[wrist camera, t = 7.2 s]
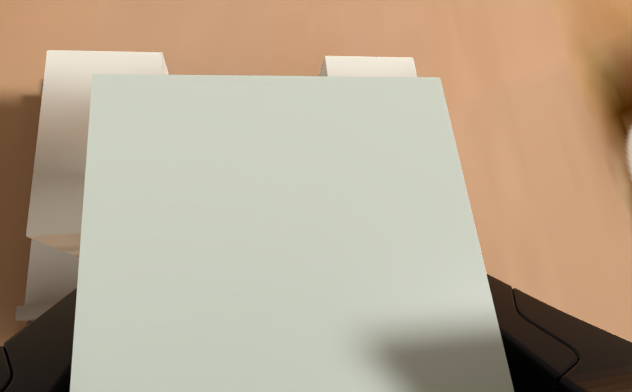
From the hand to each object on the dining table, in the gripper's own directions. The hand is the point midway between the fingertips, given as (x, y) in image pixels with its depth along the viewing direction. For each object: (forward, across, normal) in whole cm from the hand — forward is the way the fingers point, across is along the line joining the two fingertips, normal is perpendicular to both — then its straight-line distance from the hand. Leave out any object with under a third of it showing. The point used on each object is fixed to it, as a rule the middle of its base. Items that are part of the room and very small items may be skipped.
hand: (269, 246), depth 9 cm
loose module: (+4, 0, +6) cm, 7 cm away
